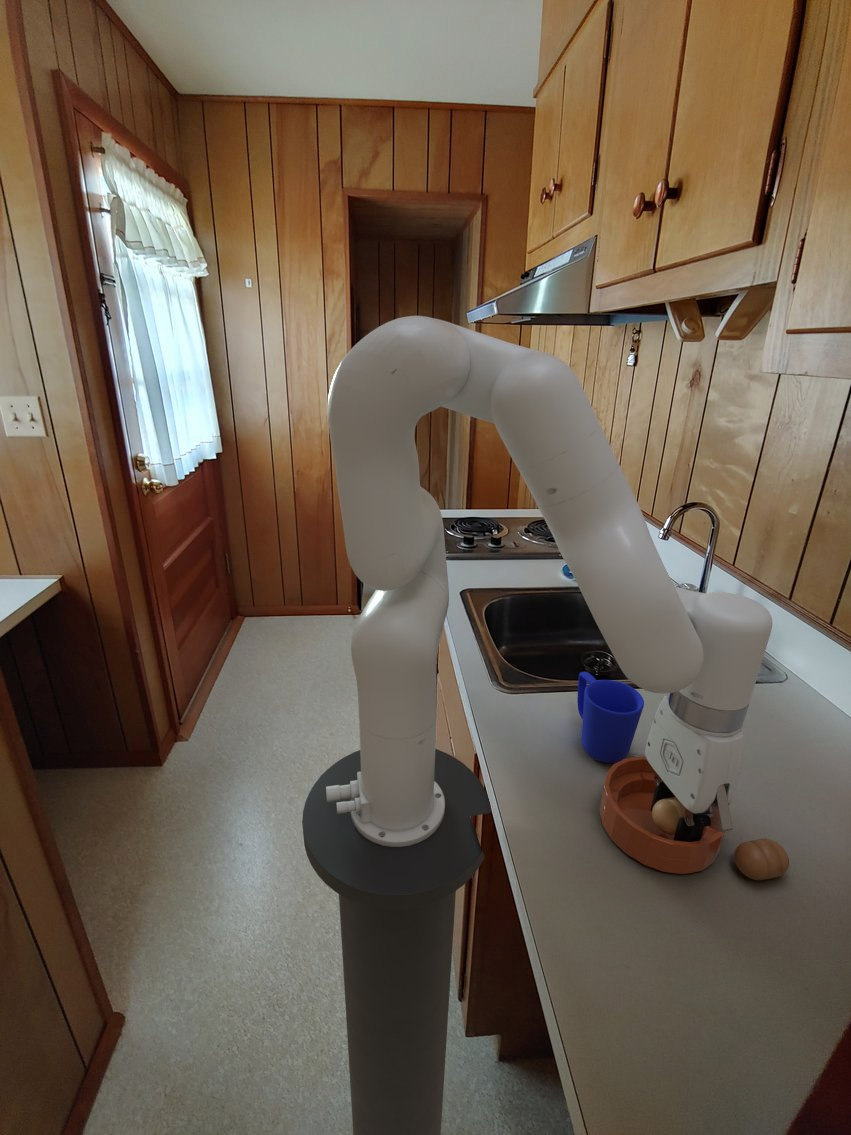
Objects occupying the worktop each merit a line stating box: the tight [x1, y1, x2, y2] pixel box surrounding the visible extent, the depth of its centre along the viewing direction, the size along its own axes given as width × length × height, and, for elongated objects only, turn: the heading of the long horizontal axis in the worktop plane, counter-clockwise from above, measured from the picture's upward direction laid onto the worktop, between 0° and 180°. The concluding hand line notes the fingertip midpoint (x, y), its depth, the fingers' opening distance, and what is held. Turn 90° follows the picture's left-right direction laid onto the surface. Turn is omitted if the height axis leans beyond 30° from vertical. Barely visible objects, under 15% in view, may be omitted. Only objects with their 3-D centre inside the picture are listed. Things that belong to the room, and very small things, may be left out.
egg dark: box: [733, 838, 790, 881], centre depth 64 cm, size 6×4×4 cm, turn 102°
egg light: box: [652, 797, 685, 835], centre depth 66 cm, size 6×4×4 cm, turn 102°
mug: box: [576, 671, 645, 764], centre depth 83 cm, size 8×12×10 cm
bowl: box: [598, 755, 727, 875], centre depth 69 cm, size 14×14×5 cm
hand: (674, 825), depth 67 cm, fingers closed on egg light, 4 cm apart
